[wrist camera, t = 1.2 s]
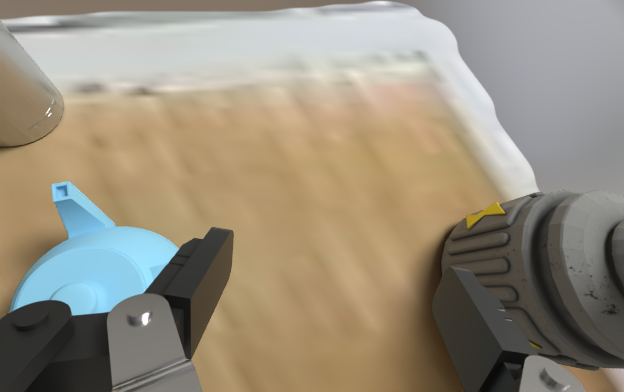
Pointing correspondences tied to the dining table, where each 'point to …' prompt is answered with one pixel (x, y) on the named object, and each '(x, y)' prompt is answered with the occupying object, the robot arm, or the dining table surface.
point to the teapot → (93, 259)
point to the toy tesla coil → (553, 271)
